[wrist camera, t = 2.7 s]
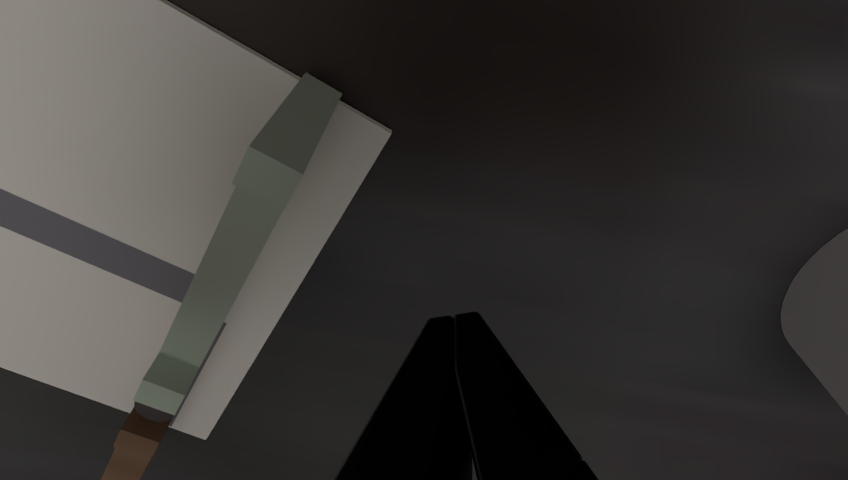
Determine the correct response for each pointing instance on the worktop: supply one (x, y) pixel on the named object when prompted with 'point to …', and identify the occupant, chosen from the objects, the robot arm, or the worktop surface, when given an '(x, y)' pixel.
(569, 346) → the worktop surface
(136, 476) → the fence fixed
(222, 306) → the fence panel
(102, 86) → the card
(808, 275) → the gray block
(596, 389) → the worktop surface
